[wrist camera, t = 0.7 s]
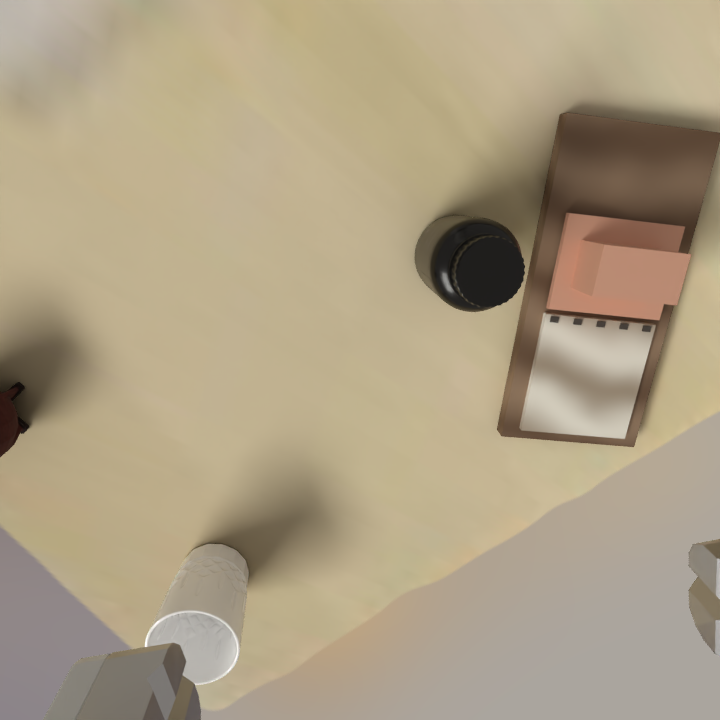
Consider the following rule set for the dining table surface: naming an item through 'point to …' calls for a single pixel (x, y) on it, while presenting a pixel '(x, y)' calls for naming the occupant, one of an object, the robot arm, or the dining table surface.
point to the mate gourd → (10, 419)
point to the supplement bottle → (470, 262)
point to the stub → (617, 267)
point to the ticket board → (587, 330)
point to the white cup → (205, 612)
